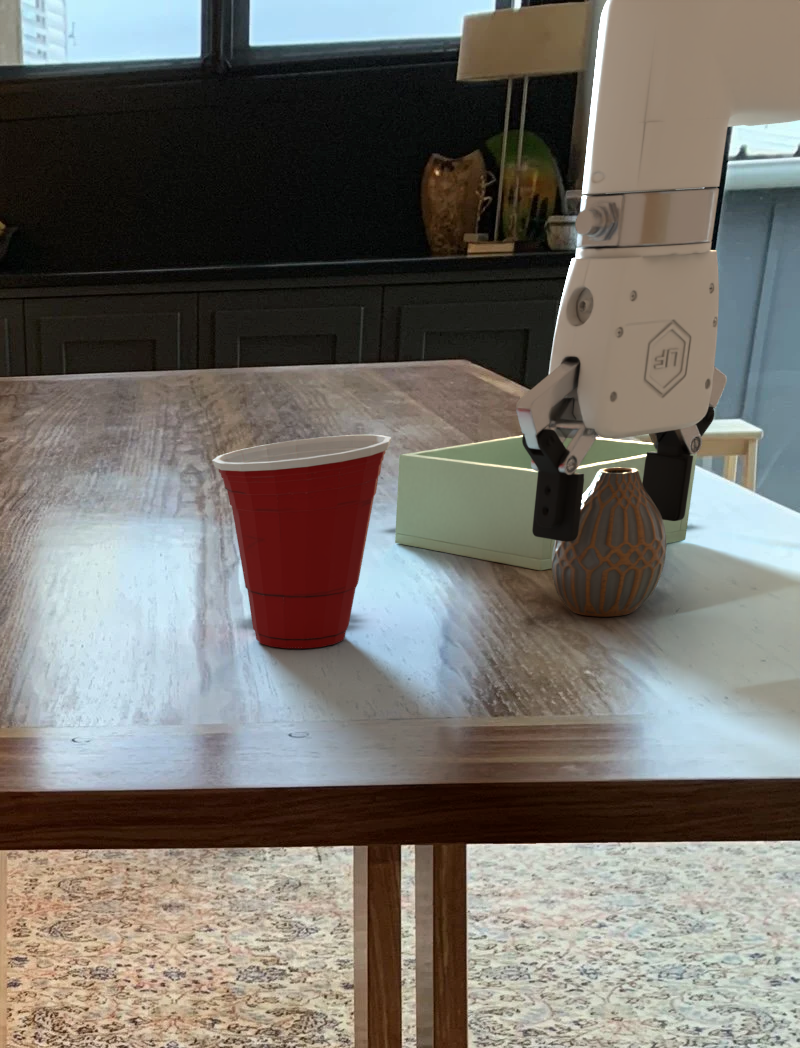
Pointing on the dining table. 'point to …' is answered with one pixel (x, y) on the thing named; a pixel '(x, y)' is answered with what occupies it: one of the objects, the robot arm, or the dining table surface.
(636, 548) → the vase
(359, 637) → the dining table surface
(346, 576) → the plastic cup
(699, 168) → the robot arm
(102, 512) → the dining table surface
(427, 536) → the tub
